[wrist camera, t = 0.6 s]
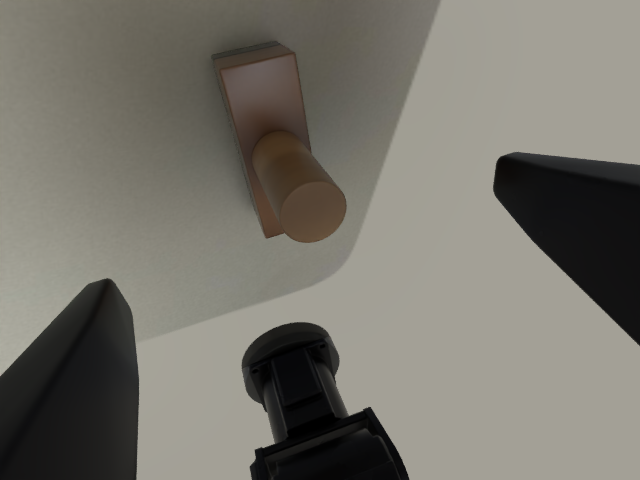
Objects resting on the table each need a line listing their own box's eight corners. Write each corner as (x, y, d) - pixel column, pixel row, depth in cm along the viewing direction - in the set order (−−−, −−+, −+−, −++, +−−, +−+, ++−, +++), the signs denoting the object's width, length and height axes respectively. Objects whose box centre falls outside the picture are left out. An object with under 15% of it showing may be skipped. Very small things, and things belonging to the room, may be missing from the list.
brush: (305, 194, 22) (363, 284, 16) (254, 210, 22) (292, 308, 15) (277, 40, 17) (343, 82, 11) (210, 54, 17) (240, 107, 11)
